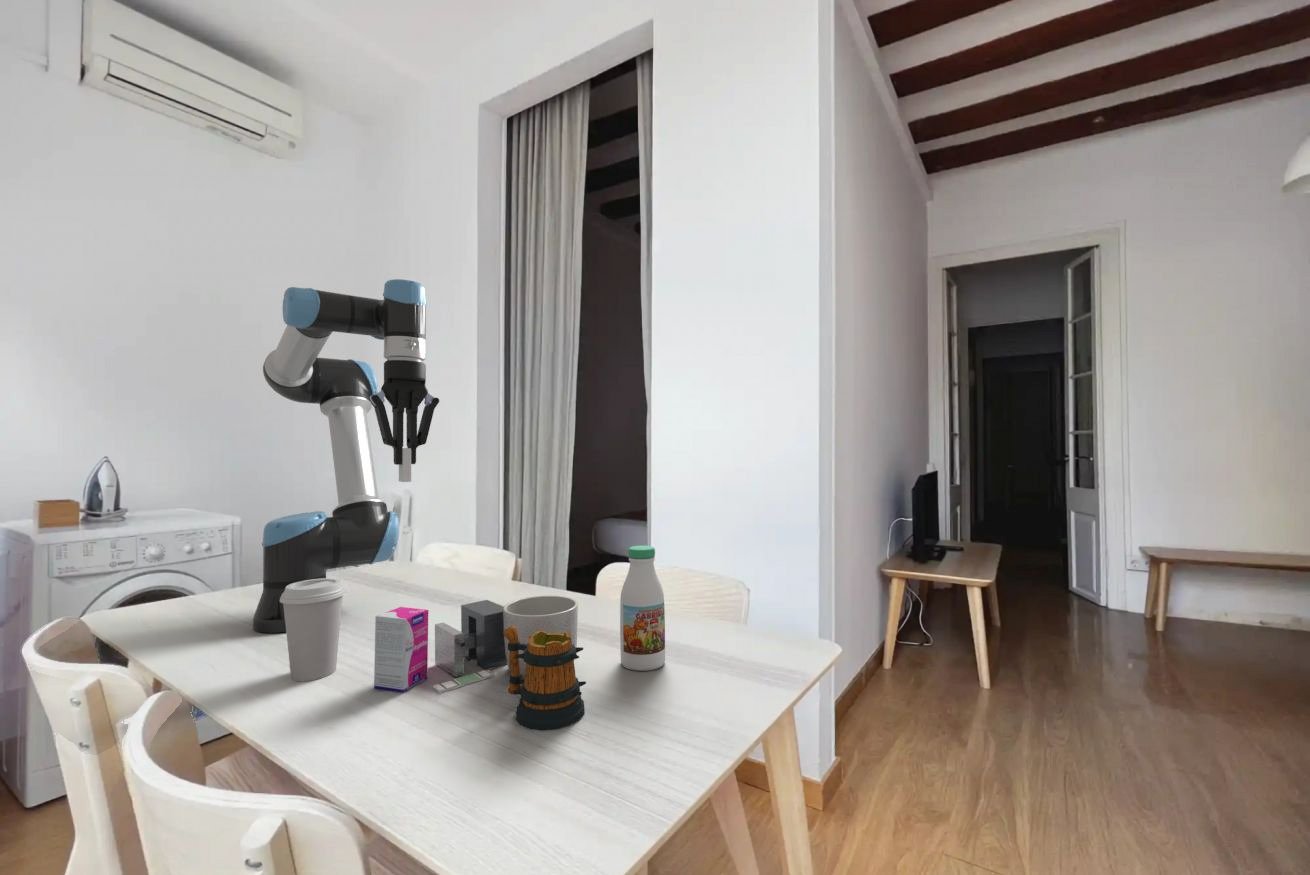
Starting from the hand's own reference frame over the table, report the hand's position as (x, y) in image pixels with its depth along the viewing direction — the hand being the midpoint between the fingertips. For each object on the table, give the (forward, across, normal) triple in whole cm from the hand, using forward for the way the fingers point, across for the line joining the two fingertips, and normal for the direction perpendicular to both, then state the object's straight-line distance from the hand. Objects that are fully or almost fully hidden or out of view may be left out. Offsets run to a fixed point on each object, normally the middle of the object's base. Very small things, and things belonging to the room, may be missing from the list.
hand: (404, 481), depth 111 cm
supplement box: (+31, -7, -21) cm, 38 cm away
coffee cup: (+31, -17, -6) cm, 36 cm away
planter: (+31, +12, -32) cm, 46 cm away
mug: (+30, +4, -45) cm, 54 cm away
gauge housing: (+31, +7, -21) cm, 38 cm away
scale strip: (+31, 0, -28) cm, 41 cm away
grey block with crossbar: (+30, +6, -22) cm, 38 cm away
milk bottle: (+31, +26, -42) cm, 58 cm away
